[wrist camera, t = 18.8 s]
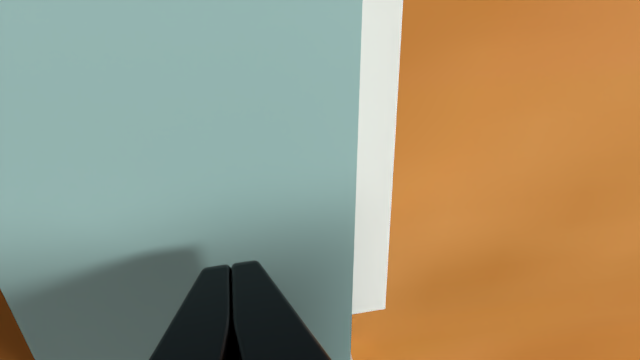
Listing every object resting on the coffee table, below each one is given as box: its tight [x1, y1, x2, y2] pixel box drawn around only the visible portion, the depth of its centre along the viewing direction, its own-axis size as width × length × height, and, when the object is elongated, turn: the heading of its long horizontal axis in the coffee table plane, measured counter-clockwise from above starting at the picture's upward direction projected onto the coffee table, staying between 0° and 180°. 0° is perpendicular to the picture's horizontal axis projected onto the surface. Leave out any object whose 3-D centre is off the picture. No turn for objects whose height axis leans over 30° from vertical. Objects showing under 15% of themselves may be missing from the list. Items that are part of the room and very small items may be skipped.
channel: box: [350, 0, 403, 360], centre depth 12 cm, size 18×8×4 cm, turn 2°
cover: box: [0, 0, 363, 360], centre depth 8 cm, size 15×8×4 cm, turn 1°
